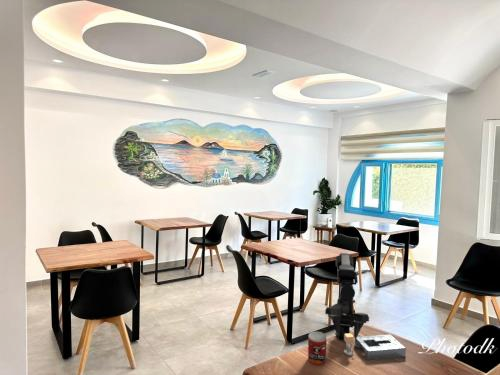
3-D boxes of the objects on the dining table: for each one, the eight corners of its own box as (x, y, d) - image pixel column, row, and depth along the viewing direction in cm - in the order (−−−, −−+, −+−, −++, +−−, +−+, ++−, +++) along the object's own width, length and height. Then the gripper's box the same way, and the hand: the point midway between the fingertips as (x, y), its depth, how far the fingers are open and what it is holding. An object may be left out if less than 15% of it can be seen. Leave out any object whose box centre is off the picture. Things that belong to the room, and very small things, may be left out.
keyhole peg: (342, 351, 148) (342, 333, 147) (350, 350, 148) (351, 332, 148) (346, 356, 144) (346, 337, 143) (354, 355, 145) (355, 337, 144)
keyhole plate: (354, 345, 153) (355, 336, 153) (390, 342, 156) (390, 334, 155) (367, 360, 141) (367, 350, 141) (405, 356, 144) (405, 347, 144)
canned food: (307, 364, 138) (307, 339, 137) (308, 353, 146) (308, 330, 145) (325, 367, 136) (326, 341, 136) (326, 356, 144) (326, 332, 143)
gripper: (317, 294, 144) (316, 332, 140) (353, 301, 129) (353, 343, 126) (333, 294, 150) (333, 330, 147) (369, 300, 135) (369, 340, 132)
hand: (346, 335), depth 138 cm, fingers open, 9 cm apart
